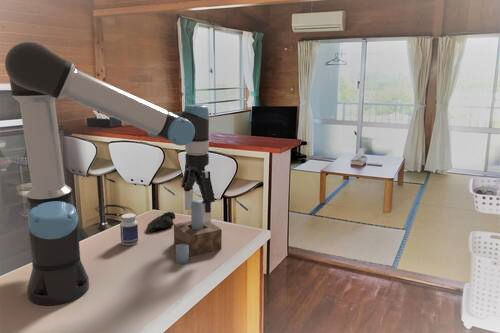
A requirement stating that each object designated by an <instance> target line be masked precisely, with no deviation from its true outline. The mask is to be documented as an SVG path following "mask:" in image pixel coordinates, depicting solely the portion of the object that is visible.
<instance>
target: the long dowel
mask: <svg viewBox="0 0 500 333" xmlns="http://www.w3.org/2000/svg"><path fill="white" fill-rule="evenodd" d="M202 202H203V199H193V200H192V201H191V209H190V211H191V212H190V214H191V215H190V216H191V217H190V219H191V220H190V221H191V229H192V230H193V231H196V230H201V229H203V222H202Z"/></svg>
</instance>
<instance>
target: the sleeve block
mask: <svg viewBox="0 0 500 333" xmlns="http://www.w3.org/2000/svg"><path fill="white" fill-rule="evenodd" d="M222 234H223V233H222V228H220V226H217V225H216V224H215V223H213V222H212V221H208V222H203V229H201V230H196V231H193V230H192V229H191V220H189V221H184V222H180V223H175V224H174V225H173V243H174V245H175V246H177V245H178V244H187V245H189V257H193V256H198V255H201V254H205V253H209V252H210V253H211V252H215V251H217V250H221V249H222V246H223V244H222V242H223V241H222V238H223V237H222V236H223V235H222Z"/></svg>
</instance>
